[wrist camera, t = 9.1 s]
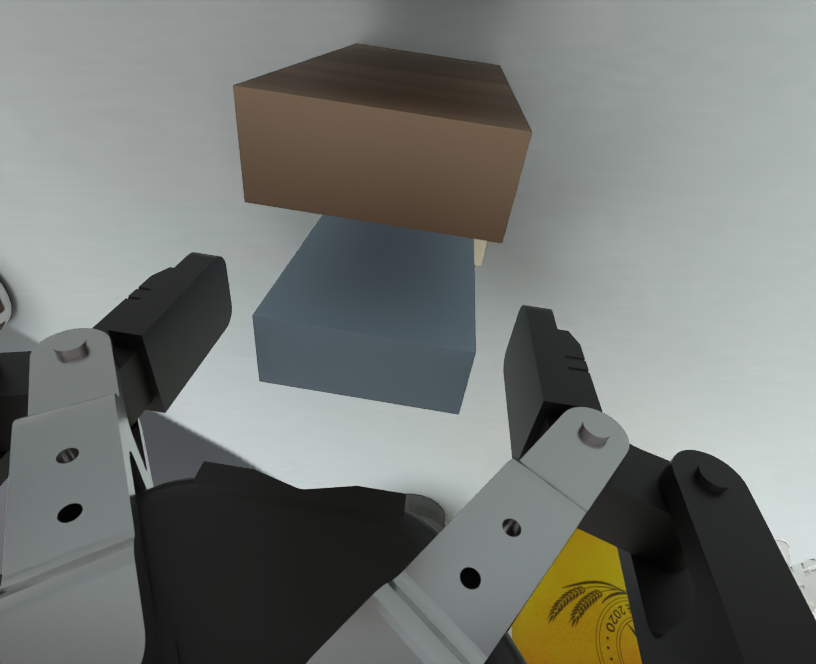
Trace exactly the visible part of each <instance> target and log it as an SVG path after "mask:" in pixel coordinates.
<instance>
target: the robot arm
mask: <svg viewBox="0 0 816 664" xmlns="http://www.w3.org/2000/svg"><path fill="white" fill-rule="evenodd" d="M231 313H232V304H231V297H230V290H229V283H228V276H227V269H226V263H225V261H224V259H223V258H222V257H220V256H214V255H207V254H201V253H195V252H192V253H190V254H189V255H187V256H186V257H185V258H184V259H183V260H182V261H181V262H180V263H179V264H178V265H177V266H176V267H175V268H171V267H170V268H167V269H165V270H163V271H161V272H159V273H156V274H154V275H152V276H151V277H149V278H148V279H147V280H146V281H145V282H144V283H143V284H142V285H140V286H139V289H136V290H135V291H134V292H133V293H131V294H130V295H129V298H128V299H125V300H124V301H122V302H121V303H120V304H119V305H118V306H117V307H116V308H114V309H113V310H112V311H111V312H110V313H109V314H108V315H107V316H105V317H104V318H103V319H102V320H101V321H100V322H99V323H98V324H96V325H95V326H94V327H93V328H92V329H91V328H78V329H71V330H67V331H63V332H60V333H57V334H54V335H52V336H50V337H48V338H46V339H44V340H43V341H41V342H40V343H39V344H38V345H36V346H35V348H34V349H33V350H32V351H27V352H9V353H0V486H1V485H2V483H3V482H4V481H5V480H6V479H7V478H8V476H9V480H8V494H7V509H6V525H5V539H4V554H3V568H2V574H1V575H0V664H527V662H526V660H525V659H524V657H523V656H522V654H521V653H520V651H519V649H518V648H517V646H516V645H515V643H514V642H513V640H512V638H511V637H510V635H509V634H508V631H509V629H510V627H511V626H512V625H513V623H514V622H515V620H516V619H517V617H518V616H519V614H520V613H521V611H522V610H523V608H524V607H525V605H526V604H527V602H528V601H529V599H530V598H531V596H532V595H533V593H534V592H535V590H536V589H537V587H538V586H539V584H540V583H541V581H542V580H543V578H544V577H545V575H546V574H547V572H548V571H549V569H550V568H551V566H552V565H553V564H554V562H555V561H556V559H557V558H558V556H559V555H560V553H561V552H562V550H563V549H564V547H565V546H566V544H567V543H568V541H569V540H570V538H571V537H572V535H573V534H574V532H575V531H576V529H577V528H578V529H580V530H582V531H584V532H586V533H588V534H590V535H592V536H595V537H597V538H599V539H601V540H603V541H605V542H607V543H609V544H611V545H614V546H616V547H617V550H618V555H619V559H620V564H621V569H622V573H623V578H624V582H625V587H626V592H627V596H628V601H629V605H630V610H631V615H632V619H633V624H634V629H635V633H636V638H637V642H638V647H639V652H640V656H641V661H642V664H816V619H815V617H814V615H813V613H812V611H811V610H810V608H809V606H808V604H807V602H806V600H805V598H804V596H803V594H802V592H801V590H800V588H799V586H798V584H797V582H796V580H795V578H794V576H793V574H792V573H791V571H790V569H789V567H788V565H787V563H786V561H785V559H784V557H783V555H782V553H781V551H780V549H779V547H778V545H777V543H776V541H775V539H774V537H773V536H772V534H771V532H770V530H769V528H768V526H767V524H766V522H765V520H764V518H763V516H762V514H761V512H760V510H759V508H758V506H757V504H756V502H755V500H754V499H753V497H752V495H751V493H750V491H749V489H748V487H747V485H746V484H745V482H744V481H743V479H742V478H741V477H740V476H739V475H738V474H737V473H736V472H735V471H734V470H733V469H732V468H731V467H730V466H728V465H727V464H726V463H724V462H723V461H721V460H719V459H718V458H716V457H714V456H712V455H709V454H707V453H704V452H700V451H696V450H684V451H681V452H679V453H677V454H676V455H675V456H674V457H673V459H672V460H671V461H668V460H665V459H663V458H661V457H658V456H656V455H653V454H651V453H648V452H646V451H643V450H641V449H639V448H637V447H634V446H633V445H631V444H629V439H628V436H627V434H626V432H625V431H624V429H623V428H622V427H621V426H620V425H619V424H618V423H617V422H616V421H615V420H614V419H613V418H611V417H610V416H608V415H606V414H605V413H603V412H602V409H601V406H600V403H599V400H598V397H597V394H596V391H595V388H594V385H593V382H592V379H591V376H590V373H588V367H587V364H586V361H584V359H585V358H584V355H583V352H582V349H581V346H580V344H579V343H578V342H577V340H576V339H575V338H574V337H573V336H572V335H571V334H570V333H569V331H565V330H558V329H557V326H556V322H555V319H554V315H553V312H552V310H551V309H545V308H539V307H532V306H526V305H523V306H522V307H521V308H520V311H519V313H518V316H517V319H516V322H515V325H514V328H513V331H512V334H511V337H510V341H509V344H508V347H507V350H506V354H505V359H504V381H505V391H506V401H507V410H508V420H509V430H510V440H511V449H512V459H511V460H510V461H508V462H507V463H506V464H505V465H504V466H503V467H502V469H501V470H500V471H499V472H498V473H497V474H496V475H495V476H494V477H493V478H492V479H491V480H490V481H489V482H488V483H487V484H486V485H485V486H484V487H483V488H482V489H481V490H480V491H479V492H478V494H477V495H476V496H475V497H474V498H473V499H472V500H471V501H470V502H469V503H468V504H467V505H466V506H465V507H464V508H463V509H462V510H461V511H460V512H459V513H458V514H457V515H456V516H455V517H454V519H453V520H452V521H451V522H450V523H449V524H448V525H447V526H446V527H445V528H444V529H443V530H442V531H441V532H439V531H438V530H437V529H436V528H434V527H433V526H432V525H430V524H429V523H428V522H426V521H425V520H424V519H422V518H420V517H418V516H417V515H415V514H413V513H411V512H409V511H407V510H405V501H406V494H403V493H397V492H391V491H385V490H379V489H372V488H366V487H360V486H348V487H334V488H320V489H298V488H296V487H293V486H291V485H289V484H286V483H284V482H282V481H279V480H277V479H275V478H273V477H270V476H268V475H266V474H263V473H261V472H259V471H256V470H254V469H249V468H242V467H235V466H230V465H224V464H218V463H211V462H205V461H204V462H203V464H202V466H201V468H200V469H199V471H198V473H197V475H196V477H189V478H184V479H178V480H174V481H170V482H166V483H163V484H160V485H158V486H155V487H153V483H152V478H151V473H150V468H149V463H148V457H147V452H146V447H145V443H144V437H143V432H142V427H141V424H140V421H139V417H140V416H141V414H142V413H143V412H144V410H151V411H157V412H164V413H166V411H167V410H168V408H169V407H170V406H171V404H172V403H173V401H174V400H175V399H176V397H177V396H178V395H179V393H180V392H181V390H182V389H183V388H184V386H185V385H186V383H187V382H188V381H189V379H190V378H191V377H192V375H193V374H194V372H195V371H196V370H197V368H198V367H199V365H200V364H201V363H202V361H203V360H204V358H205V357H206V356H207V354H208V353H209V352H210V350H211V349H212V347H213V346H214V345H215V343H216V342H217V340H218V339H219V338H220V336H221V335H222V334H223V332H224V331H225V329H226V328H227V326H228V324H229V322H230V318H231Z"/></svg>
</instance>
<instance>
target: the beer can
mask: <svg viewBox="0 0 816 664" xmlns="http://www.w3.org/2000/svg"><path fill="white" fill-rule="evenodd" d="M511 627H512V640H513V642H514V643H515V645H516V646H517V648H518V649H519V651H520V653H521V654H522V656H523V657H524V659H525V660H526V662H527V664H642V661H641V656H640V652H639V647H638V642H637V638H636V633H635V629H634V624H633V619H632V615H631V610H630V605H629V601H628V596H627V592H626V587H625V582H624V578H623V573H622V569H621V564H620V559H619V555H618V550H617V547H616V546H614V545H611V544H609V543H607V542H605V541H603V540H601V539H599V538H597V537H595V536H592V535H590V534H588V533H586V532H584V531H582V530H580V529H578V528H577V529H576V531H575V532H574V534H573V535H572V537H571V538H570V540H569V541H568V543H567V544H566V546H565V547H564V549H563V550H562V552H561V553H560V555H559V556H558V558H557V559H556V561H555V562H554V564H553V565H552V566H551V568H550V569H549V571H548V572H547V574H546V575H545V577H544V578H543V580H542V581H541V583H540V584H539V586H538V587H537V589H536V590H535V592H534V593H533V595H532V596H531V598H530V599H529V601H528V602H527V604H526V605H525V607H524V608H523V610H522V611H521V613H520V614H519V616H518V617H517V619H516V620H515V622H514V623H513V625H512V626H511Z"/></svg>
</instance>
